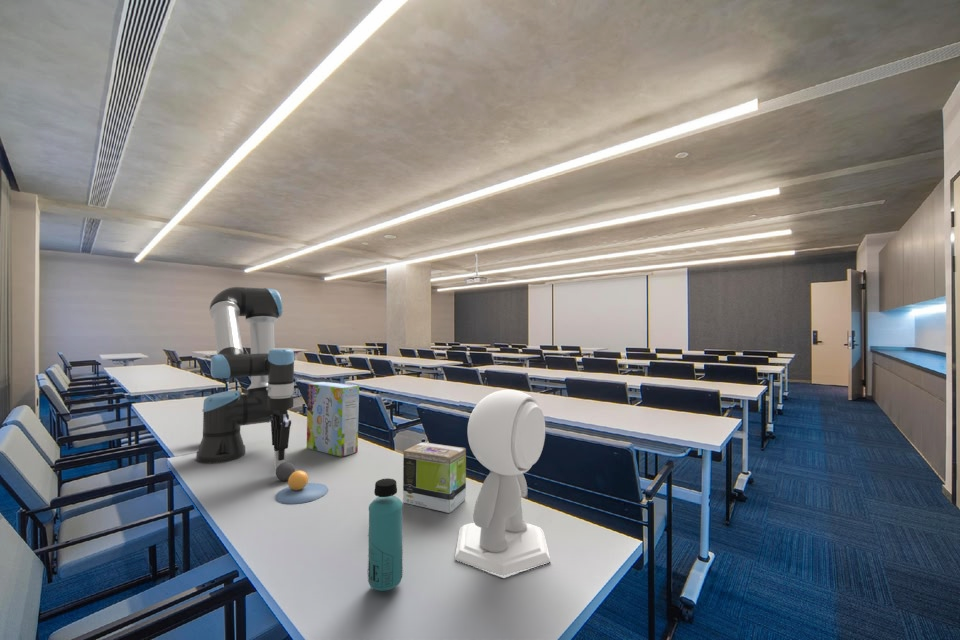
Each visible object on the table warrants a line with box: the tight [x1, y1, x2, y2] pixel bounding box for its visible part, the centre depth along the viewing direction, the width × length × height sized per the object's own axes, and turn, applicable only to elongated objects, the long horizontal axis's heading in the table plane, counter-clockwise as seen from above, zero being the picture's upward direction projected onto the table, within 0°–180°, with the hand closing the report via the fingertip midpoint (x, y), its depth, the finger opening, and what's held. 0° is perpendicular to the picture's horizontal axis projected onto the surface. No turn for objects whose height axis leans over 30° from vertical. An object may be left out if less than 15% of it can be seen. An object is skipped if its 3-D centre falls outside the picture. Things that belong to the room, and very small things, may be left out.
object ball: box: [287, 470, 309, 491], centre depth 118 cm, size 6×6×6 cm
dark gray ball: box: [275, 461, 296, 482], centre depth 125 cm, size 6×6×6 cm
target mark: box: [274, 482, 329, 505], centre depth 115 cm, size 14×14×1 cm
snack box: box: [306, 381, 360, 458], centre depth 155 cm, size 22×9×26 cm, turn 58°
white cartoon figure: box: [454, 389, 551, 576], centre depth 89 cm, size 20×23×35 cm
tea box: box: [402, 441, 467, 514], centre depth 111 cm, size 15×10×15 cm
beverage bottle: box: [367, 478, 404, 592], centre depth 74 cm, size 6×7×20 cm
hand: (279, 469), depth 129 cm, fingers closed
